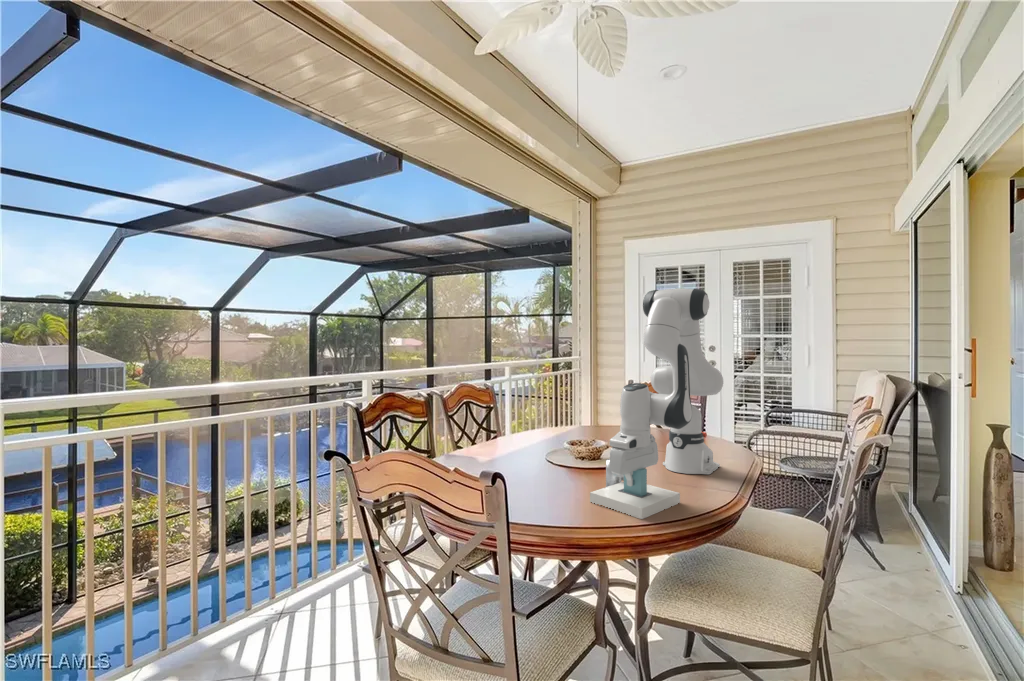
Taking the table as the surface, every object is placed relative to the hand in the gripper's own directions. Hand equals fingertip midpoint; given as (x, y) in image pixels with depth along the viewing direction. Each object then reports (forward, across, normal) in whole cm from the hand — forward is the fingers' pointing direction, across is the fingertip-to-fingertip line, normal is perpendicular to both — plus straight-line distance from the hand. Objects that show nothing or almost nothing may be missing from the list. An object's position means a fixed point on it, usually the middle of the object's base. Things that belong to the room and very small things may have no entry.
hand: (635, 484), depth 144 cm
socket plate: (+6, 0, 0) cm, 6 cm away
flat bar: (+4, 0, 0) cm, 4 cm away
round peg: (+6, -7, -13) cm, 16 cm away
